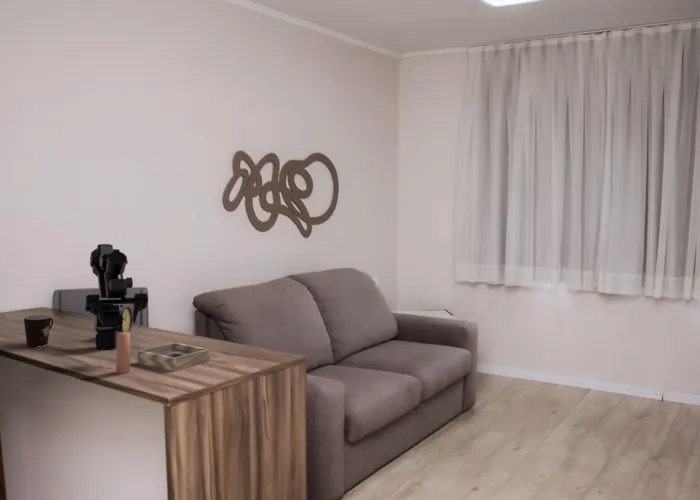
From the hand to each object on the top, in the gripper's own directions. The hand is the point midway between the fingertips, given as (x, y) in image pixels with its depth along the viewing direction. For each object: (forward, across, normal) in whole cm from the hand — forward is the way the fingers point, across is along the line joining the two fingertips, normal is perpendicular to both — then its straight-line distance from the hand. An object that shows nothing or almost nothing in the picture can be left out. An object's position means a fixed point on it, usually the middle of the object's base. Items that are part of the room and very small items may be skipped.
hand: (119, 323), depth 196 cm
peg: (+15, 0, +4) cm, 16 cm away
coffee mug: (-16, -20, +35) cm, 44 cm away
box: (+10, +17, +8) cm, 22 cm away
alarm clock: (-19, +7, +38) cm, 43 cm away
